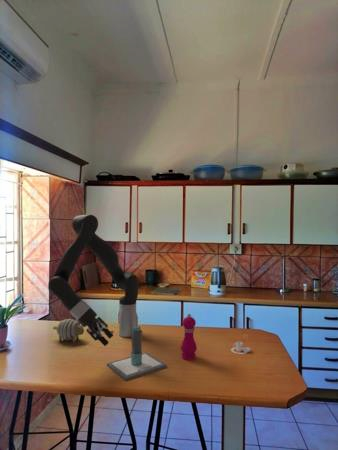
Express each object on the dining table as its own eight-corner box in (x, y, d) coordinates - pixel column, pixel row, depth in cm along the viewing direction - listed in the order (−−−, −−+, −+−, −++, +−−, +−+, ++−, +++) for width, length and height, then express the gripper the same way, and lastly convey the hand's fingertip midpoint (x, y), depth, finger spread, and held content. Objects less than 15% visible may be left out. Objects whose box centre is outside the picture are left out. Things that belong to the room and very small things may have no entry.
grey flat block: (146, 354, 149) (146, 350, 149) (166, 367, 136) (166, 362, 136) (106, 365, 137) (106, 361, 136) (125, 380, 124) (125, 376, 124)
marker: (138, 360, 139) (138, 324, 139) (143, 364, 136) (144, 327, 135) (129, 363, 137) (129, 326, 136) (134, 367, 133) (134, 329, 133)
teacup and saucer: (252, 352, 154) (252, 343, 154) (243, 356, 148) (243, 348, 148) (236, 346, 160) (236, 338, 160) (227, 351, 154) (227, 342, 154)
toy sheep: (79, 345, 159) (80, 323, 159) (47, 343, 160) (47, 321, 160) (87, 337, 169) (87, 316, 169) (57, 336, 171) (57, 315, 171)
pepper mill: (198, 355, 148) (198, 312, 148) (194, 361, 141) (194, 316, 141) (183, 353, 150) (183, 310, 150) (178, 359, 144) (179, 315, 143)
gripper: (84, 311, 130) (111, 340, 130) (94, 303, 144) (119, 329, 144) (71, 324, 130) (98, 353, 130) (82, 314, 145) (107, 340, 144)
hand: (109, 340), depth 137 cm, fingers open, 8 cm apart
